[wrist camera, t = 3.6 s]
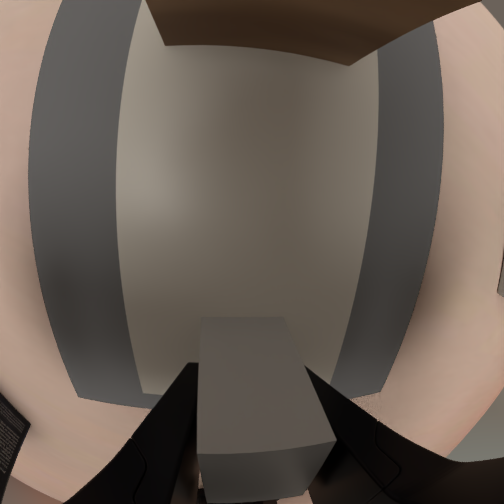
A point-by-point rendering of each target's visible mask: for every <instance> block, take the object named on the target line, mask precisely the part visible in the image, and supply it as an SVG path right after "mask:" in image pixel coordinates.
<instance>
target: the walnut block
mask: <svg viewBox="0 0 504 504" xmlns="http://www.w3.org/2000/svg"><path fill="white" fill-rule="evenodd" d="M145 1H146V3H147V5H148V8H149V10H150V12H151V15H152V17H153V19H154V22H155V24H156V26H157V28H158V31H159V33H160V35H161V38H162V40H163V42H164V45H165V46H178V45H218V46H237V47H249V48H258V49H267V50H274V51H281V52H287V53H293V54H299V55H304V56H309V57H313V58H318V59H322V60H327V61H331V62H335V63H338V64H342V65H346V66H350V65H352V64H354V63H355V62H357V61H359V60H360V59H362V58H363V57H365V56H367V55H368V54H370V53H372V52H374V51H375V50H377V49H379V48H381V47H382V46H384V45H386V44H388V43H389V42H391V41H393V40H395V39H397V38H399V37H401V36H402V35H404V34H406V33H408V32H410V31H412V30H414V29H416V28H418V27H420V26H422V25H424V24H427V23H429V22H431V21H433V20H435V19H437V18H440V17H442V16H444V15H446V14H449V13H451V12H454V11H456V10H459V9H461V8H464V7H466V6H469V5H472V4H474V3H477V2H480V1H482V0H145Z"/></svg>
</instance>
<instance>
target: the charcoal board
mask: <svg viewBox="0 0 504 504" xmlns="http://www.w3.org/2000/svg"><path fill="white" fill-rule="evenodd" d="M141 2H142V0H62V3H61V5H60V8H59V10H58V13H57V15H56V18H55V21H54V23H53V26H52V29H51V32H50V35H49V38H48V42H47V45H46V48H45V52H44V56H43V60H42V63H41V68H40V72H39V77H38V81H37V86H36V92H35V98H34V104H33V111H32V119H31V129H30V141H29V161H28V188H29V209H30V222H31V231H32V240H33V247H34V254H35V260H36V266H37V271H38V276H39V281H40V286H41V290H42V294H43V299H44V303H45V306H46V310H47V314H48V317H49V321H50V324H51V327H52V331H53V334H54V337H55V340H56V343H57V346H58V349H59V351H60V354H61V357H62V360H63V362H64V365H65V367H66V370H67V372H68V375H69V377H70V379H71V382H72V384H73V386H74V388H75V391H76V393H77V395H78V397H80V398H85V399H90V400H95V401H100V402H105V403H111V404H117V405H124V406H131V407H139V408H148V409H153V407H154V406H155V405H156V404H157V402H158V401H159V400H160V398H161V397H162V396H163V395H157V394H146V393H143V391H142V387H141V384H140V380H139V376H138V372H137V367H136V363H135V359H134V354H133V349H132V344H131V339H130V334H129V329H128V323H127V317H126V311H125V305H124V298H123V290H122V282H121V274H120V264H119V253H118V239H117V220H116V158H117V139H118V126H119V115H120V106H121V98H122V90H123V83H124V77H125V71H126V65H127V59H128V54H129V49H130V45H131V40H132V36H133V31H134V27H135V23H136V20H137V16H138V12H139V9H140V5H141ZM377 55H378V82H379V110H378V138H377V154H376V167H375V177H374V187H373V196H372V204H371V211H370V218H369V225H368V231H367V238H366V244H365V249H364V255H363V260H362V265H361V270H360V275H359V280H358V284H357V289H356V293H355V298H354V302H353V306H352V310H351V314H350V318H349V322H348V326H347V329H346V333H345V337H344V340H343V344H342V347H341V351H340V354H339V357H338V361H337V364H336V367H335V370H334V373H333V376H332V379H331V382H330V385H331V386H332V387H333V388H335V389H336V390H337V391H339V392H340V393H341V394H343V395H344V396H345V397H347V398H348V399H351V398H356V397H361V396H365V395H370V394H374V393H378V392H380V391H381V389H382V387H383V385H384V383H385V381H386V379H387V377H388V374H389V372H390V370H391V368H392V365H393V363H394V361H395V358H396V356H397V354H398V351H399V349H400V346H401V344H402V341H403V338H404V336H405V333H406V330H407V327H408V325H409V322H410V319H411V316H412V313H413V310H414V307H415V304H416V300H417V297H418V294H419V290H420V287H421V283H422V280H423V276H424V272H425V268H426V264H427V260H428V255H429V251H430V246H431V242H432V237H433V231H434V226H435V220H436V214H437V207H438V200H439V192H440V183H441V173H442V160H443V137H444V112H443V90H442V77H441V67H440V59H439V52H438V45H437V39H436V34H435V29H434V24H433V21H431V22H429V23H427V24H424V25H422V26H420V27H418V28H416V29H414V30H412V31H410V32H408V33H406V34H404V35H402V36H401V37H399V38H397V39H395V40H393V41H391V42H389V43H388V44H386V45H384V46H382V47H381V48H379V49H377Z"/></svg>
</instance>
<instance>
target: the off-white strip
mask: <svg viewBox="0 0 504 504" xmlns="http://www.w3.org/2000/svg"><path fill="white" fill-rule="evenodd" d="M378 110H379V82H378V55H377V50H375V51H374V52H372V53H370V54H368V55H367V56H365V57H363V58H362V59H360V60H359V61H357V62H355V63H354V64H352V65H350V66H346V65H342V64H338V63H335V62H331V61H327V60H322V59H318V58H313V57H309V56H304V55H299V54H293V53H287V52H281V51H274V50H267V49H258V48H249V47H237V46H218V45H178V46H165V45H164V42H163V40H162V38H161V35H160V33H159V31H158V28H157V26H156V24H155V22H154V19H153V17H152V15H151V12H150V10H149V8H148V5H147V3H146V1H145V0H142V2H141V5H140V9H139V12H138V16H137V20H136V23H135V27H134V31H133V36H132V40H131V45H130V49H129V54H128V59H127V65H126V71H125V77H124V83H123V90H122V98H121V106H120V115H119V126H118V139H117V158H116V220H117V239H118V253H119V264H120V274H121V282H122V290H123V298H124V305H125V311H126V317H127V323H128V329H129V334H130V339H131V344H132V349H133V354H134V359H135V363H136V367H137V372H138V376H139V380H140V384H141V387H142V391H143V393H146V394H157V395H163V394H164V393H165V392H166V390H167V389H168V388H169V386H170V385H171V384H172V383H173V381H174V380H175V379H176V377H177V376H178V375H179V373H180V372H181V371H182V369H183V368H184V367H185V365H186V364H187V363H188V362H199V371H198V402H197V456H198V462H199V467H200V472H201V477H202V482H203V487H204V491H205V496H206V500H207V503H242V502H256V501H266V500H274V499H282V498H288V497H294V496H300V495H303V494H304V493H305V491H306V490H307V488H308V487H309V485H310V484H311V482H312V481H313V479H314V478H315V476H316V474H317V473H318V471H319V470H320V468H321V466H322V465H323V463H324V462H325V460H326V458H327V457H328V455H329V453H330V451H331V450H332V448H333V446H334V444H335V442H336V441H337V440H336V437H335V435H334V433H333V430H332V428H331V426H330V424H329V421H328V419H327V417H326V414H325V412H324V410H323V407H322V405H321V403H320V401H319V398H318V396H317V394H316V391H315V389H314V387H313V384H312V382H311V380H310V378H309V375H308V373H307V371H306V368H305V366H306V367H308V368H309V369H310V370H311V371H313V372H314V373H315V374H316V375H318V376H319V377H320V378H322V379H323V380H324V381H325V382H327V383H328V384H329V385H330V382H331V379H332V376H333V373H334V370H335V367H336V364H337V361H338V357H339V354H340V351H341V347H342V344H343V340H344V337H345V333H346V329H347V326H348V322H349V318H350V314H351V310H352V306H353V302H354V298H355V293H356V289H357V284H358V280H359V275H360V270H361V265H362V260H363V255H364V249H365V244H366V238H367V231H368V225H369V218H370V211H371V204H372V196H373V187H374V177H375V167H376V154H377V138H378ZM304 365H305V366H304Z"/></svg>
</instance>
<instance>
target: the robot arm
mask: <svg viewBox="0 0 504 504" xmlns="http://www.w3.org/2000/svg"><path fill="white" fill-rule="evenodd" d="M304 366H305V365H304ZM305 368H306V371H307V373H308V375H309V378H310V380H311V382H312V384H313V387H314V389H315V391H316V394H317V396H318V398H319V401H320V403H321V405H322V407H323V410H324V412H325V414H326V417H327V419H328V421H329V424H330V426H331V428H332V430H333V433H334V435H335V437H336V440H337V441H336V442H335V444H334V446H333V448H332V450H331V451H330V453H329V455H328V457H327V458H326V460H325V462H324V463H323V465H322V466H321V468H320V470H319V471H318V473H317V474H316V476H315V478H314V479H313V481H312V482H311V484H310V485H309V487H308V491H309V494H310V497H311V499H312V502H313V504H504V457H502V458H497V459H490V460H483V461H474V462H458V461H453V460H450V459H447V458H445V457H442V456H440V455H438V454H436V453H434V452H432V451H430V450H428V449H426V448H424V447H421V446H419V445H417V444H415V443H414V442H412V441H410V440H408V439H406V438H405V437H403V436H401V435H399V434H398V433H396V432H395V431H393V430H392V429H390V428H388V427H387V426H386V425H384V424H383V423H381V422H380V421H377V419H375V418H374V417H373V416H371V415H370V414H368V413H367V412H366V411H364V410H363V409H361V408H360V407H359V406H357V405H356V404H355V403H353V402H352V401H351V400H349V399H348V398H347V397H345V396H344V395H343V394H341V393H340V392H339V391H337V390H336V389H335V388H333V387H332V386H331V385H329V384H328V383H327V382H325V381H324V380H323V379H322V378H320V377H319V376H318V375H316V374H315V373H314V372H313V371H311V370H310V369H309V368H308V367H306V366H305ZM198 371H199V362H188V363H187V364H186V365H185V367H184V368H183V369H182V371H181V372H180V373H179V375H178V376H177V377H176V379H175V380H174V381H173V383H172V384H171V385H170V386H169V388H168V389H167V390H166V392H165V393H164V394H163V396H162V397H161V398H160V400H159V401H158V402H157V404H156V405H155V406H154V407H153V409H152V410H151V411H150V413H149V414H148V415H147V417H146V418H145V419H144V421H143V422H142V423H141V424H140V426H139V427H138V428H137V430H136V431H135V432H134V433H133V435H132V436H131V438H132V439H131V438H130V439H129V440H128V441H127V442H126V444H125V445H124V446H123V447H122V449H121V450H120V451H119V452H118V453H117V454H116V456H115V457H114V458H113V459H112V460H111V461H110V462H109V463H108V464H107V465H106V466H105V467H104V468H103V469H102V470H101V471H100V472H99V473H98V474H97V475H96V476H95V477H94V478H93V479H91V480H90V481H89V482H88V483H87V484H86V485H85V486H84V487H83V488H81V489H80V490H79V491H78V492H77V493H76V494H75V495H73V496H72V497H71V498H70V499H69V500H67V501H66V502H64V503H63V504H277V501H278V500H279V499H274V500H266V501H256V502H242V503H207V500H206V496H205V491H204V490H200V491H198V482H199V472H200V467H199V462H198V456H197V402H198Z"/></svg>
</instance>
